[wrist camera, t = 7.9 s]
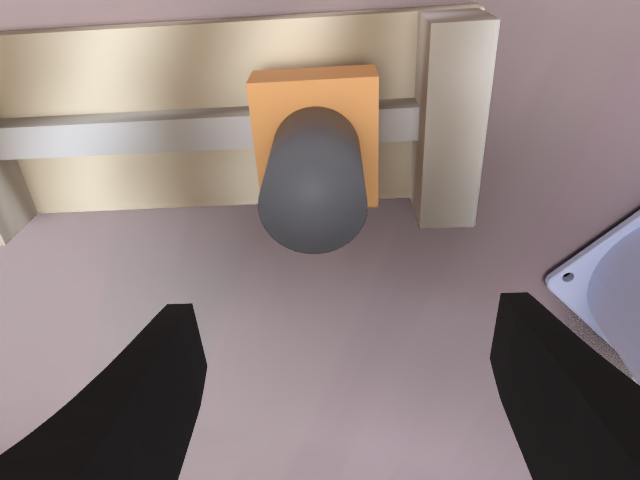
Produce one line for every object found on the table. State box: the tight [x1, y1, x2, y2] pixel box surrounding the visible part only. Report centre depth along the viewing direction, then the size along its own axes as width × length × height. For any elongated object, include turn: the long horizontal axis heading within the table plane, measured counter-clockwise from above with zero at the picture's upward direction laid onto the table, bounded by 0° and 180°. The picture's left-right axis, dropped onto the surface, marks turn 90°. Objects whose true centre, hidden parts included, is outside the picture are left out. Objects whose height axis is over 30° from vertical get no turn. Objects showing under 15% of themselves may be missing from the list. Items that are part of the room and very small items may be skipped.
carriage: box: [246, 64, 379, 254], centre depth 16 cm, size 4×4×7 cm
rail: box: [0, 4, 500, 245], centre depth 18 cm, size 20×7×4 cm, turn 93°
